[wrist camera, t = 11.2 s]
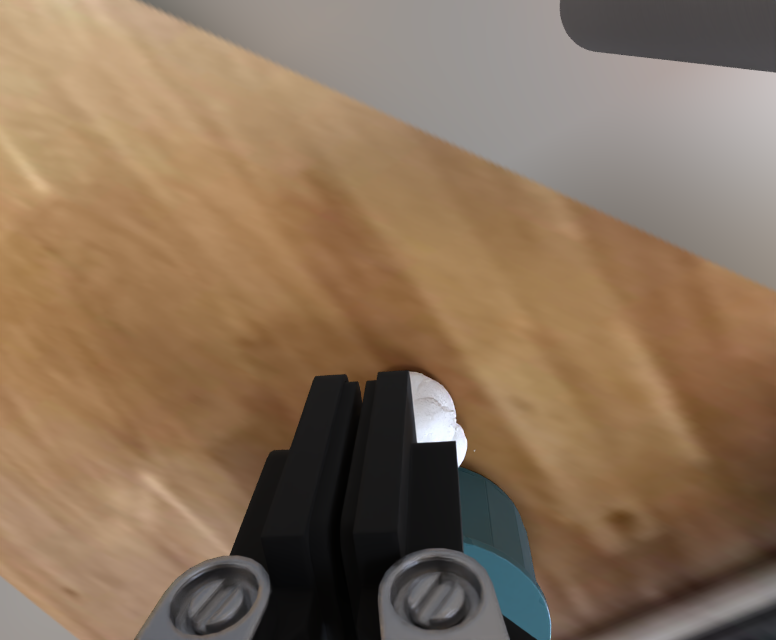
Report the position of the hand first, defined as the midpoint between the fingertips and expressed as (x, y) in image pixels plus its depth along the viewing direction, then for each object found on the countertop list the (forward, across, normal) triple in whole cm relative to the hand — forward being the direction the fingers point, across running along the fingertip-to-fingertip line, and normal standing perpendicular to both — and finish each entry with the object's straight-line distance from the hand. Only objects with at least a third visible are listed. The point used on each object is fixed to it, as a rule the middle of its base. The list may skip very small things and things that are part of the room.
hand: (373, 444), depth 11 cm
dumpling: (+22, +1, +14) cm, 26 cm away
